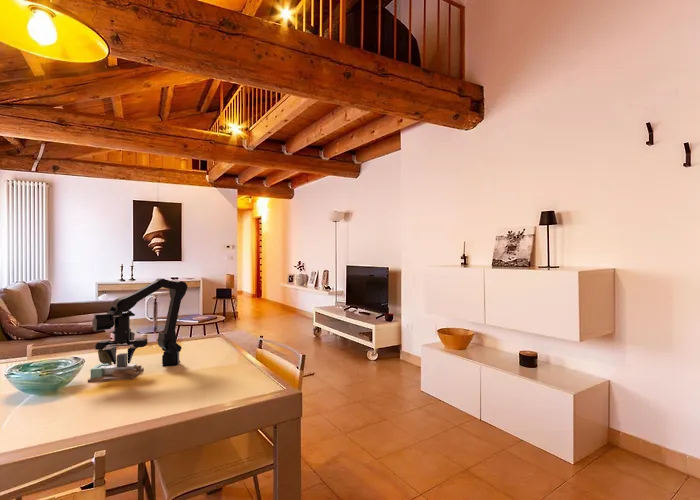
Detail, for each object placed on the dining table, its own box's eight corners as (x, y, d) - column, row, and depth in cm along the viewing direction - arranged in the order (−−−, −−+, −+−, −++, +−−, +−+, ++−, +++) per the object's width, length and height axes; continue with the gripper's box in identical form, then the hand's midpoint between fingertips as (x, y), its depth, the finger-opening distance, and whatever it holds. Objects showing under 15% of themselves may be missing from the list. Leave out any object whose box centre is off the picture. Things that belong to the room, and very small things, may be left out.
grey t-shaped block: (136, 370, 163) (136, 352, 163) (133, 373, 159) (133, 354, 159) (101, 372, 161) (101, 354, 161) (96, 375, 157) (96, 356, 157)
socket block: (109, 371, 163) (109, 363, 163) (101, 377, 155) (101, 368, 155) (99, 372, 162) (99, 364, 162) (90, 377, 155) (90, 369, 155)
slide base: (143, 369, 168) (143, 363, 168) (132, 379, 155) (132, 372, 155) (102, 372, 165) (102, 365, 165) (87, 382, 152) (87, 375, 152)
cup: (101, 369, 169) (101, 351, 169) (95, 366, 174) (95, 349, 174) (119, 365, 175) (119, 348, 175) (112, 362, 180) (112, 346, 180)
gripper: (151, 323, 170) (151, 357, 170) (106, 325, 167) (106, 360, 166) (143, 327, 159) (143, 364, 159) (94, 330, 156) (94, 367, 156)
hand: (122, 363), depth 160 cm, fingers open, 5 cm apart
